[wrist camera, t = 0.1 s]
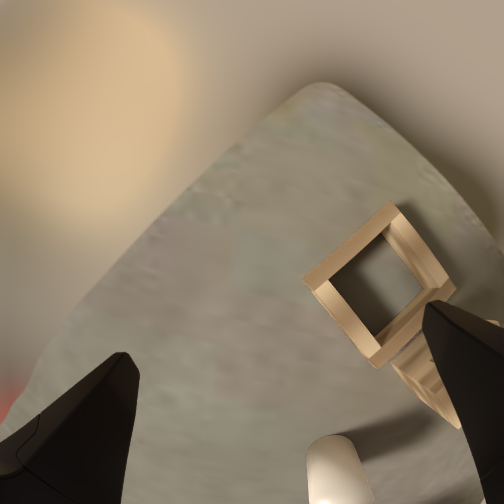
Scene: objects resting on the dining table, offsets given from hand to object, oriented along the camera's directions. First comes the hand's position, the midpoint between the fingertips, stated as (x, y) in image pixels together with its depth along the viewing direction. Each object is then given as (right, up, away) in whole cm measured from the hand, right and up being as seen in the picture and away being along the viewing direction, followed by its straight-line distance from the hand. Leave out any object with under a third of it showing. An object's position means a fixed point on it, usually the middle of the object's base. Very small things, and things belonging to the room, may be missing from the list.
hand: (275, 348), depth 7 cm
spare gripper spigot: (+6, -15, +12) cm, 21 cm away
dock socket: (+11, -2, +13) cm, 18 cm away
